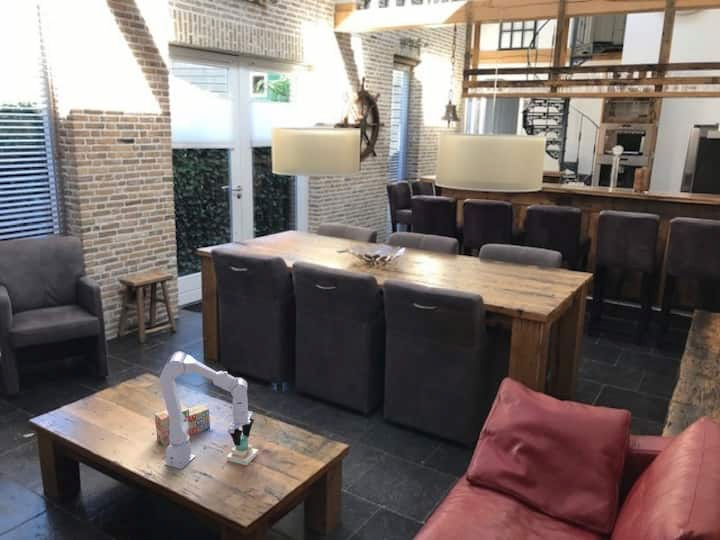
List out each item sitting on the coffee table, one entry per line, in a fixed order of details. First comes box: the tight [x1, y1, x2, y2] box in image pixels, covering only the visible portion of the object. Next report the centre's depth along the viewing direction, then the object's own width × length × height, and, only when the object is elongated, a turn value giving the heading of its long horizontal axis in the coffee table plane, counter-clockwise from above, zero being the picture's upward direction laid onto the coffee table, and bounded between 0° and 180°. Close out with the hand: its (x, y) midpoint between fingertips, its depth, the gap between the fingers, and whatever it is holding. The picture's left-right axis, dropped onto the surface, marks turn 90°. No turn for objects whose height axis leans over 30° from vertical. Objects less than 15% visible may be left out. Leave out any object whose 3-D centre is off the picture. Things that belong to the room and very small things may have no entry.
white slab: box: [226, 447, 259, 466], centre depth 238 cm, size 9×9×2 cm
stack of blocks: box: [154, 404, 211, 446], centre depth 253 cm, size 21×6×12 cm, turn 131°
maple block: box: [230, 443, 254, 459], centre depth 237 cm, size 6×6×2 cm
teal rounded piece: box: [234, 434, 249, 451], centre depth 236 cm, size 5×5×4 cm
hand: (241, 440), depth 236 cm, fingers open, 6 cm apart
